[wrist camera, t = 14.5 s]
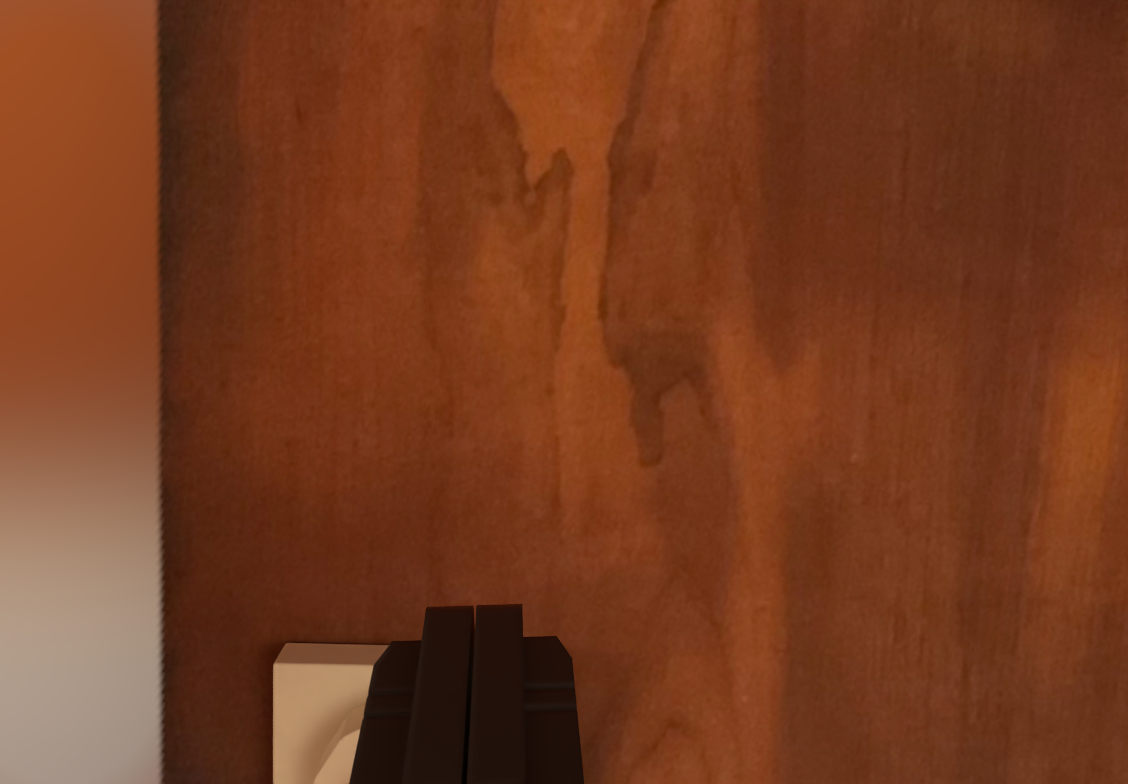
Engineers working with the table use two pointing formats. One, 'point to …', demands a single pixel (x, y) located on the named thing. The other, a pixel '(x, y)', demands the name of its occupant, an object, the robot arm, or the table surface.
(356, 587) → the table surface
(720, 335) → the table surface
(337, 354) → the table surface
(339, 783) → the button box
